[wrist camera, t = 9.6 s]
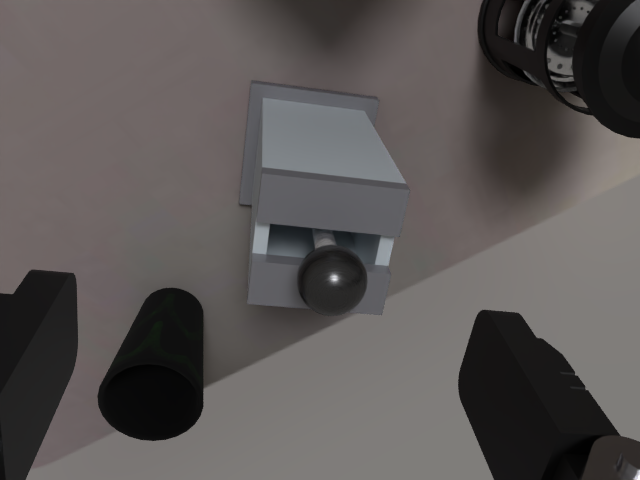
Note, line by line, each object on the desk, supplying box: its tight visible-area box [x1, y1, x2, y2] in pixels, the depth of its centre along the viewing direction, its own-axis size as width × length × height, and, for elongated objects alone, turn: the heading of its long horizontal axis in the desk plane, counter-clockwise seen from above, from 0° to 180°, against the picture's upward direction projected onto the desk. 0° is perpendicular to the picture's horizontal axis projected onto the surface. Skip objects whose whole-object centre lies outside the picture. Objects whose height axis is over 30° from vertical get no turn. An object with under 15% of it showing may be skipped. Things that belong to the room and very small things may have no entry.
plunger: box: [297, 228, 368, 316], centre depth 37 cm, size 6×6×17 cm
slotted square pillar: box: [239, 80, 410, 315], centre depth 42 cm, size 10×10×18 cm
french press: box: [478, 0, 640, 138], centre depth 37 cm, size 12×9×23 cm
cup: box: [98, 288, 203, 441], centre depth 51 cm, size 8×8×12 cm
